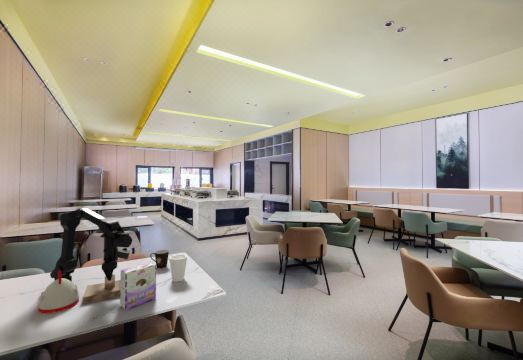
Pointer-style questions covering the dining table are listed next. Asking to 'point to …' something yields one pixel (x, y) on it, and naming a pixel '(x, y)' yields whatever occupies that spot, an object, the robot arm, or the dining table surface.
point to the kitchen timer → (58, 296)
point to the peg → (110, 282)
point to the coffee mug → (161, 258)
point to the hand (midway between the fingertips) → (110, 277)
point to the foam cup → (178, 267)
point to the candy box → (137, 285)
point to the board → (101, 292)
